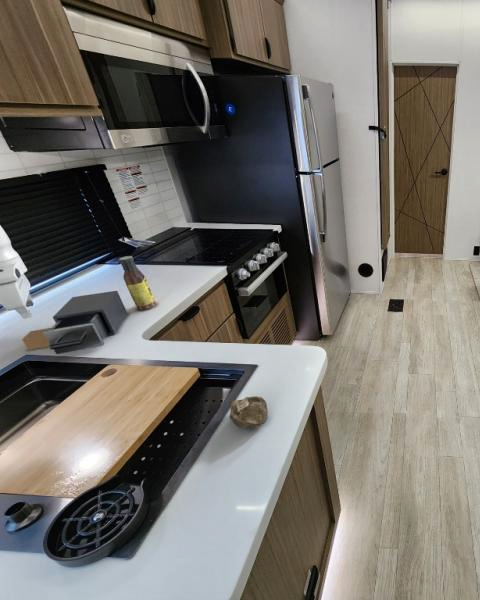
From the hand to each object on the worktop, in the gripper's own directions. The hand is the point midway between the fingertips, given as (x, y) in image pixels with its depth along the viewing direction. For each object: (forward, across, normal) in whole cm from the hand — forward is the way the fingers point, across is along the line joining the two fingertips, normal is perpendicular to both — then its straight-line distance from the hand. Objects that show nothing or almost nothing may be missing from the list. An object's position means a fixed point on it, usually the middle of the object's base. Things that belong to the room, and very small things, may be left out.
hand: (29, 311), depth 100 cm
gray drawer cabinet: (+12, -1, +13) cm, 17 cm away
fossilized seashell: (+12, +75, +37) cm, 84 cm away
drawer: (+11, +10, +9) cm, 17 cm away
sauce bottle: (+12, -8, +27) cm, 31 cm away
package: (+12, 0, 0) cm, 12 cm away
